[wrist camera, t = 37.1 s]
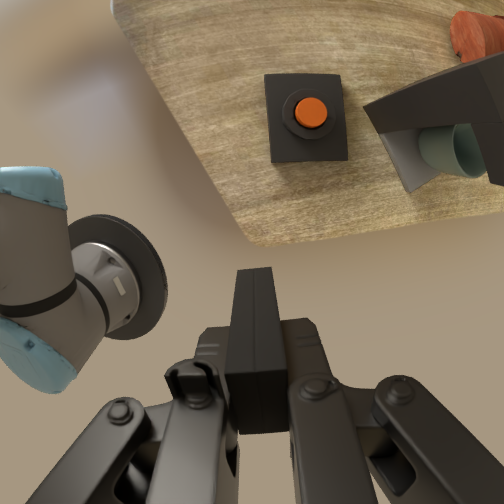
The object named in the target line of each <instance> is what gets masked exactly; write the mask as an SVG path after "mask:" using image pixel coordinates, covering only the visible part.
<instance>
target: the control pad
mask: <svg viewBox="0 0 504 504" xmlns="http://www.w3.org/2000/svg"><path fill="white" fill-rule="evenodd" d="M264 83H265V94H266V105H267V116H268V128H269V140H270V153H271V163H280V162H302V161H348V150H347V135H346V123H345V112H344V102H343V93H342V85H341V78H340V75H336V74H308V73H290V74H265V75H264ZM306 98H316V99H318V100H320V101H321V102H322V103H323V104H324V105H325V107H326V109H327V118H326V120H325V121H324V122H323V123H322V124H321V125H319V126H317V127H314V128H307V127H304V126H302V125H301V124H300V123H299V122H298V121H297V119H296V116H295V110H296V107H297V106H298V104H299V103H300V102H301V101H302V100H303V99H306Z"/></svg>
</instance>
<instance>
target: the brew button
mask: <svg viewBox="0 0 504 504" xmlns="http://www.w3.org/2000/svg"><path fill="white" fill-rule="evenodd" d="M295 116H296V119H297V121H298V122H299V123H300V124H301V125H302V126H304V127H307V128H314V127H317V126H319V125H321V124H322V123H323V122H324V121H325V120H326V118H327V109H326V107H325V105H324V104H323V103H322V102H321V101H320V100H318V99H316V98H306V99H303V100H302V101H301V102H300V103H299V104H298V106H297V107H296V110H295Z"/></svg>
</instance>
